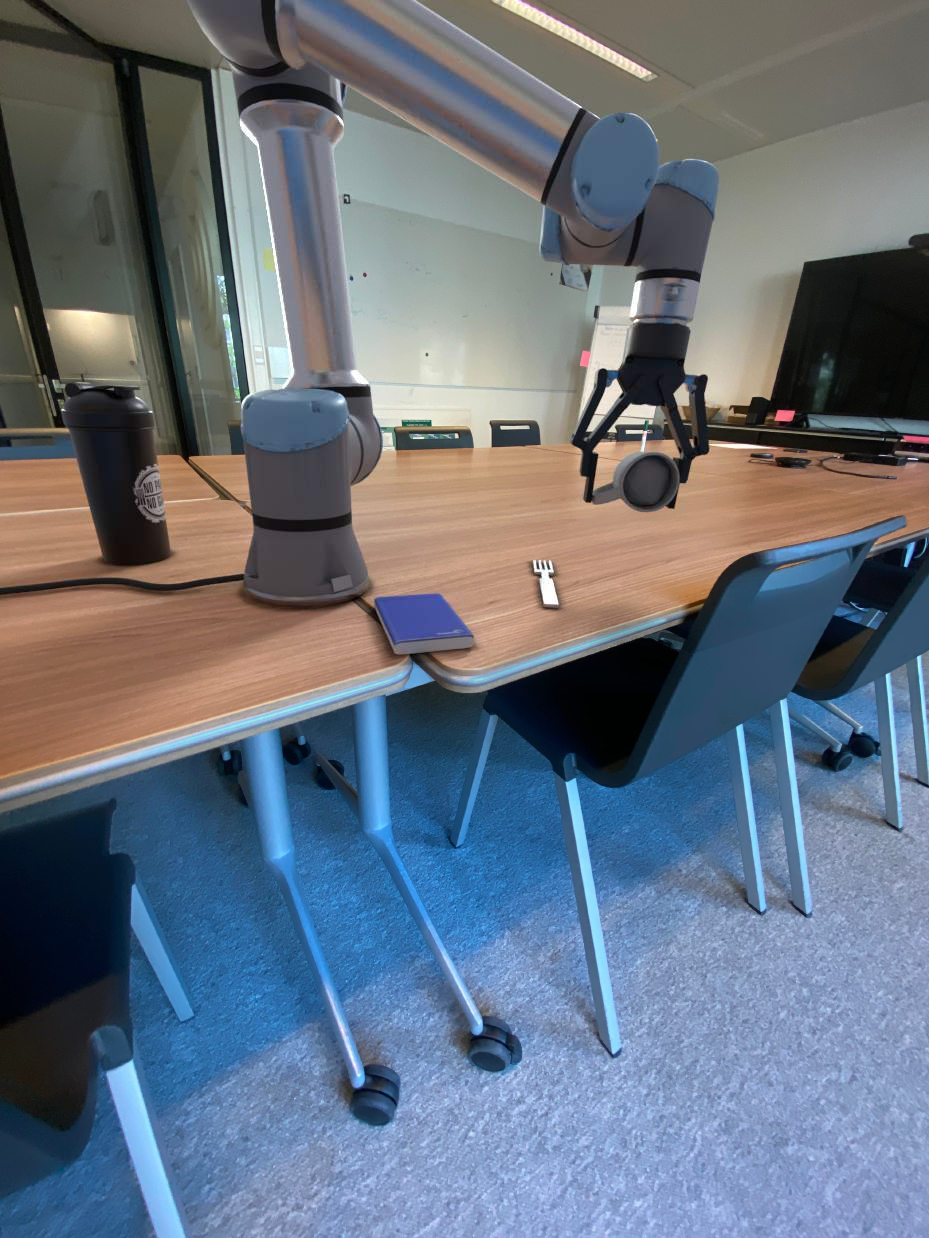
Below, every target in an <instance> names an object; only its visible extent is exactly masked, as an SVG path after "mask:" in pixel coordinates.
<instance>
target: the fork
mask: <svg viewBox="0 0 929 1238" xmlns="http://www.w3.org/2000/svg"><path fill="white" fill-rule="evenodd" d="M532 567H533V573H534V575H536V576H540V578H539V579H538V582H539V586H540V593H541V599H542V605H543V608H548V609H549V608H552V609H559V608H560V607H559V606H560V604H559V599H558V597H557V596H558V595H557V593H556V588H555V584H554V581H553V578H550V576H551V577H553V576H554V575H555V571H554V568H553V564H552V561H551V560H548V562H547V561H546V560H541V559H538V560H536V559H533V560H532Z"/></svg>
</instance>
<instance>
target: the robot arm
mask: <svg viewBox="0 0 929 1238" xmlns="http://www.w3.org/2000/svg"><path fill="white" fill-rule="evenodd" d="M186 1H187V4H188V5H189V8H190V10H191V13H192V15H193V17H194V18H195V21H196V22H197V24H198V25H199V27H200V29H201V30H202V32H203V33H204V35H205V36H206V37H207V39H208V40H209V41H210V43H211V44H212V45H213V46H214V47H215V49H216V50H217V51H218V53H220V55H221V56H222V57H223V58H224V59H225V61H226V62H227V63H228V64H229V67H230V71H231V77H232V82H233V88H234V89H233V90H234V94H235V102H236V108H237V113H238V120H239V124H240V127H241V130H242V131H243V133H245V135H246V136H247V137H248V138H249V139H250V140H251V141H252V142H253V143H254V144H255V145H256V146H257V151H258V158H259V164H260V170H261V171H260V172H261V178H262V184H263V190H264V197H265V203H266V211H267V217H268V224H269V230H270V237H271V243H272V248H273V256H274V257H273V258H274V263H275V270H276V276H277V282H278V288H279V289H278V290H279V296H280V302H281V310H282V316H283V323H284V329H285V336H286V341H287V342H286V343H287V349H288V355H289V362H290V367H291V374H290V376H289V377H288V379H287V380H286V381H285V383H284V384H283V386H282V388H279V389H272V388H271V389H263V390H258V391H255V392H252V393H250V394H248V395H246V396H245V397H244V399H242V402H241V405H240V411H241V412H240V413H241V414H240V415H241V424H240V434H241V437H242V441H243V442H242V443H243V451H244V459H245V466H246V475H247V483H248V491H249V492H248V493H249V500H250V508H251V516H252V524H253V526H252V527H253V531H252V537H251V541H250V545H249V550H248V554H247V558H246V562H245V567H244V570H243V573H237V574H229V575H221V576H213V577H206V578H201V579H195V580H190V581H184V582H177V583H156V582H155V583H154V582H149V581H148V582H147V581H142V580H138V579H132V578H126V577H115V576H114V577H113V576H112V577H109V576H108V577H86V578H73V579H65V580H57V581H50V582H41V583H31V584H21V585H13V586H3V587H0V596H4V595H5V596H7V595H15V594H22V593H23V594H24V593H32V592H33V593H34V592H42V591H51V590H58V589H67V588H76V587H84V586H96V585H97V586H98V585H99V586H100V585H116V586H117V585H118V586H126V587H133V588H138V589H143V590H147V591H148V590H149V591H154V592H155V591H158V592H175V591H176V592H177V591H184V590H190V589H195V588H200V587H207V586H212V585H213V586H214V585H220V584H227V583H235V582H243V586H244V587H243V588H244V593H245V595H246V597H248V598H249V599H251V600H252V601H254V602H257V603H259V604H263V605H267V606H271V607H278V608H286V609H287V608H290V609H307V608H309V609H310V608H320V607H321V608H322V607H326V606H327V607H328V606H334V605H338V604H342V603H345V602H348V601H352V600H353V599H356V598H358V597H360V596H361V595H363V594H365V592H366V591H367V590H368V589H369V572H368V567H367V564H366V562H365V561H366V560H365V558H364V556H363V553H362V549H361V547H360V545H359V542H358V539H357V537H356V534H355V532H354V529H353V513H352V512H353V511H352V487H353V486H355V485H357V484H359V483H361V482H363V481H364V480H366V479H367V478H368V477H369V476H370V475H371V474H372V472H373V471H374V470H375V469H376V467H377V466H378V464H379V462H380V459H381V457H382V454H383V449H384V437H383V430H382V428H381V425H380V423H379V421H378V419H377V417H376V416H375V414H374V408H373V407H374V406H373V400H372V389H371V383H370V382H369V381H368V380H367V379H366V378H365V377H364V376H363V375H362V374H360V372H359V371H358V364H357V354H356V345H355V336H354V327H353V315H352V308H351V300H350V299H351V298H350V289H349V282H348V281H349V280H348V272H347V271H348V269H347V262H346V252H345V244H344V235H343V225H342V217H341V215H342V214H341V206H340V198H339V188H338V180H337V170H336V162H335V161H336V160H335V152H334V151H335V149H336V148H337V145H338V144H339V143H340V142H341V140H342V139H343V137H344V136H345V123H344V121H345V120H344V112H343V107H344V105H345V102H346V97H347V91H348V87H349V88H351V89H352V90H354V91H356V92H357V93H359V94H361V95H362V96H363V97H365V98H366V99H369V100H370V101H372V102H374V103H376V104H377V105H379V106H380V107H382V108H384V109H385V110H387V111H389V112H391V113H392V114H394V115H396V116H397V117H398V118H400V119H402V120H404V121H405V122H407V123H408V124H410V125H412V126H413V127H415V128H417V129H418V130H420V131H422V132H423V133H425V134H427V135H428V136H430V137H431V138H433V139H435V140H436V141H438V142H440V143H442V144H443V145H445V146H446V147H448V148H450V149H452V151H455V152H456V153H458V154H460V155H461V156H463V157H464V158H466V159H468V160H470V161H472V162H473V163H474V164H476V165H478V166H480V167H481V168H483V169H485V170H487V171H488V172H490V173H491V174H493V175H495V176H496V177H498V178H500V179H501V180H503V181H505V182H506V183H508V184H509V185H511V186H513V187H515V188H516V189H518V190H519V191H521V192H522V193H524V194H526V195H528V196H529V197H531V198H532V199H534V200H535V201H537V202H539V203H540V204H542V206H543V208H542V214H541V215H542V216H541V225H540V236H539V256H540V258H541V259H542V260H543V261H544V262H547V263H555V264H561V265H562V264H563V265H564V266H570V265H585V266H587V265H589V266H615V267H616V266H617V267H618V266H619V267H635V268H636V272H635V273H636V274H635V278H634V285H633V291H632V297H631V304H630V311H629V316H628V317H629V318H628V319H629V320H630V321H631V322H632V324H630V325H629V327H628V328H627V329H626V337H625V341H624V342H625V343H624V348H623V355H622V360H621V363H620V365H619V367H618V369H607V368H605V367H602V368H598V369H597V370H596V371H595V373H594V380H593V388H592V390H591V392H590V394H589V397H588V399H587V401H586V403H585V406H584V408H583V410H582V412H581V414H580V417H579V419H578V421H577V423H576V425H575V428H574V429H573V432H572V434H571V436H570V439H569V443H570V444H571V446H573V447H575V448H578V449H579V450H580V452H581V457H580V463H579V475H580V476H581V477H583V478H585V483H584V490H583V497H582V500H583V501H584V503H586V504H592V494H593V490H594V489H595V487H594V486H595V480H596V474H597V467H598V460H599V453H598V452H596V451H594V450H595V449H596V447H597V446H598V445H599V443H600V442H601V441H602V439H604V437H605V436H606V434H608V432H609V431H610V429H611V428H612V427H613V425H614V424H615V423H616V422H617V421H618V420H619V418H620V416H622V414H623V413H624V412H625V411H626V410H627V409H628V408H629V406H630V405H633V406H644V405H646V406H649V407H660V410H661V412H662V413H663V415H664V418H665V421H666V423H667V425H668V429H669V431H670V434H671V436H672V439H673V442H674V443H675V446H676V448H677V451H678V454H679V456H678V457H676V456H675V457H674V456H673V457H672V460H674V462H675V463H676V465H677V467H678V470H679V475H680V481H679V487H678V490H677V492H676V494H675V496H674V498H673V499H672V500H671V501H670V502H669V503H668V504H667V505H666V506H665V508H667V509H669V510H670V509H671V510H675V508H676V503H677V498H678V494H679V489H680V486H681V485H680V484H686V483H687V482H688V480H689V476H690V471H691V467H692V462H693V460H695V459H696V458H698V457H700V456H706V455H708V454H709V453H710V440H709V431H708V430H709V429H708V418H707V409H706V408H707V407H706V398H705V397H706V396H705V392H706V389H707V387H708V386H707V385H708V382H709V376H708V375H707V374H705V373H703V374H686V371H685V361H686V357H687V353H688V347H689V342H690V336H691V332H692V330H691V329H690V327H689V326H688V325H687V324H689V323H691V322H692V321H693V320H694V317H695V311H696V305H697V301H698V295H699V290H700V286H701V285H700V284H701V279H702V274H703V273H702V272H703V268H704V264H705V260H706V254H707V249H708V245H709V241H710V236H711V231H712V227H713V222H714V221H715V217H716V206H717V199H718V192H719V185H720V174H719V171H718V169H717V168H716V167H715V165H714V164H712V163H710V162H708V161H706V160H702V159H696V158H685V159H683V160H672V161H668V162H665V163H663V164H661V165H660V149H659V145H658V139H657V138H656V135H655V133H654V131H653V130H652V128H651V126H650V125H649V124H648V123H647V122H646V120H644V119H643V118H642V117H641V116H638V115H637V114H634V113H632V112H631V113H630V112H616V113H611V114H607V115H606V116H603V117H601V118H600V117H599V116H597V115H595V114H594V113H592V112H590V111H589V110H587V109H586V108H584V107H583V106H580V105H579V104H577V103H576V102H575V101H573V100H572V99H570V98H568V97H567V96H565V95H563V94H562V93H560V92H559V91H557V90H555V89H554V88H553V87H551V86H550V85H548V84H547V83H545V82H543V81H541V80H540V79H539V78H537V77H536V76H534V75H532V74H531V73H530V72H528V71H526V70H525V69H523V68H521V67H520V66H519V65H517V64H515V63H514V62H512V61H511V60H509V59H507V58H506V57H504V56H503V55H501V54H500V53H498V52H497V51H495V50H493V49H492V48H490V47H489V46H487V45H485V44H484V43H483V42H481V41H479V40H478V39H477V38H475V37H474V36H472V35H471V34H469V33H467V32H466V31H464V30H463V29H461V28H459V27H458V26H456V25H455V24H453V23H451V22H450V21H449V20H447V19H445V18H444V17H442V15H441V16H440V14H438V13H436V12H435V11H434V10H432V9H430V8H428V7H427V6H425V4H424V5H423V4H422V3H420V2H419V1H417V0H186ZM615 380H616V381H617V384H618V386H619V387H620V389H621V393H620V394H619V396H617V398H616V400H615V401H614V402H613V405H612V406H611V407H610V409H609V410H608V411H607V412H606V414H605V415H604V416H603V418H601V420H600V421H599V423H598V424H597V425H596V427H595V428H593V430H592V432H591V433H590V434H589V436H588V437H587V438H586V439H584V438H585V435H586V433H587V431H588V429H589V426H590V424H591V423H592V420H593V419H594V416H595V413H596V411H597V409H598V408H599V405H600V403H601V401H602V398H604V397H603V396H604V394H605V392H606V389H607V388H610V387H611V386H612V384H613V382H614V381H615ZM683 385H684V386H685V391H686V393H687V394H688V405H689V406H688V407H689V415H690V422H691V423H690V425H691V432H692V434H691V435H692V442H691V440H690V438H689V434H688V432H687V430H686V427H685V424H684V422H683V419H682V416H681V413H680V411H679V407H678V406H679V405H678V403H677V400H676V397H675V393H676V392H677V391H678V390H679V389H680V387H681V386H683ZM692 444H693V445H692Z"/></svg>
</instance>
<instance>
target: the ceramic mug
mask: <svg viewBox="0 0 929 1238" xmlns="http://www.w3.org/2000/svg"><path fill="white" fill-rule="evenodd" d="M679 481H680V475H679V470H678V467H677V465H676V463H675V462H674V460H673V458H672V457H670V456H669V455H667V454H665V453H662V452H659V451H637V452H633V453H631V454H629V455H626V456H625V457H624V458H622V459H621V460H620V461H619V463H618V464H617V465H616V467H615V469H614V472H613V475H612V481H611V482H608V483H606V484H604V485H601V486H600V487H597V488H594V489H593V494H592V501H591V504H593V506H594V505H595V506H597V505H598V506H599V505H605V504H609V503H611V502H615V501H618V500H621V501H622V502H623V503H624V504H625V505H627V506H628V507H629V508H630V509H632V510H634V511H636V512H640V513H652V512H653V513H654V512H657V511H660V510H661V509H663V508H666V505H667V504H668V503H669V502H670V501H671V500H672V499H673V498H674V496H675V494H676V492H677V490H678V487H679V488H680V485H679ZM678 491H679V490H678Z"/></svg>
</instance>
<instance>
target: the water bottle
mask: <svg viewBox="0 0 929 1238" xmlns="http://www.w3.org/2000/svg"><path fill="white" fill-rule="evenodd" d="M140 390H141V387H140V386H139V385H138V386H137V385H111V384H110V385H96V384H94V383H92V382H91V383H90V382H79V381H78V382H77V381H75V382H74V381H73V382H68V383H66V384H65V386H64V392H65V394H66V396H67V397H68V398H67V399H66V400H65V402H64V404H63V408H61V410H60V413H61V417H62V421H63V424H64V426H65V429H67V430H68V433H69V436H70V439H71V443H72V448H73V451H74V455H75V458H76V463H77V466H78V469H79V474H80V478H81V481H82V485H83V488H84V492H85V496H86V499H87V503H88V508H89V510H90V514H91V515H90V516H91V519H92V522H93V525H94V530H95V533H96V537H97V540H98V545H99V548H100V552H101V555H102V559H103V562H105V563H107V564H109V565H115V566H136V565H137V566H138V565H147V564H152V563H156V562H159V561H163V560H166V559H167V558H169V557H171V555H172V551H171V544H170V538H169V537H170V536H169V531H168V523H167V517H166V506H165V501H164V494H163V486H162V480H161V472H160V466H159V461H158V455H157V447H156V441H155V433H154V430H155V426H156V421H155V415H154V412H153V411H151V410H150V408H149V406H148V404H146V402H144V401H143V400H142V399H141V398H139V397H138V396H136V393H135V391H140Z"/></svg>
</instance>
